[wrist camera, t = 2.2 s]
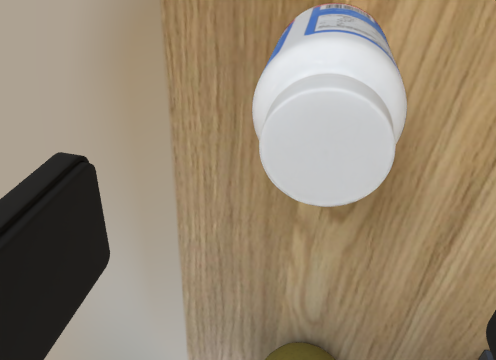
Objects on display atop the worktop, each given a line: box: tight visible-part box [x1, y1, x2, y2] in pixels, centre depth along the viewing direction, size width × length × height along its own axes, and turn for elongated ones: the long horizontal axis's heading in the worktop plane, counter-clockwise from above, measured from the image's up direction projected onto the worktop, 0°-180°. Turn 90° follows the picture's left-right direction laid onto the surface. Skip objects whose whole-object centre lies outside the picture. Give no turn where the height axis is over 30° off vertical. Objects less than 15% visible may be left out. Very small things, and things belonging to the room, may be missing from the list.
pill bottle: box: [252, 3, 407, 207], centre depth 16 cm, size 6×5×10 cm
